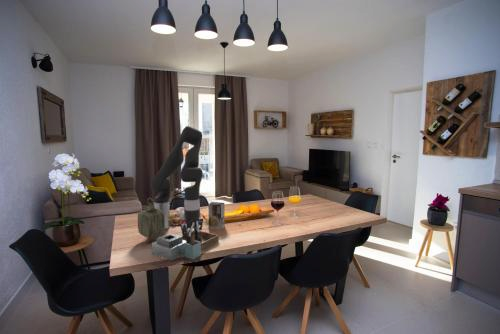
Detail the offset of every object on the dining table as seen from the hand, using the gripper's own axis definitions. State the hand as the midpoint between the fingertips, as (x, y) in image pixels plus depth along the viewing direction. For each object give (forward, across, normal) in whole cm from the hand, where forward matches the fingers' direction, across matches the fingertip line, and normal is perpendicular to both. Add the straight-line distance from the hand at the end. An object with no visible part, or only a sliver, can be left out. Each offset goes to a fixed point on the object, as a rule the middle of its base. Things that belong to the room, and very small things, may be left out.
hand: (192, 240), depth 136 cm
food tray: (+8, +38, +47) cm, 61 cm away
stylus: (+7, 0, 0) cm, 7 cm away
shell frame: (+8, +13, +9) cm, 18 cm away
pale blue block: (+8, -4, +12) cm, 15 cm away
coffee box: (+8, +40, +17) cm, 44 cm away
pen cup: (+8, 0, 0) cm, 8 cm away
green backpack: (+8, +1, +33) cm, 34 cm away
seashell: (+8, +12, +9) cm, 17 cm away
